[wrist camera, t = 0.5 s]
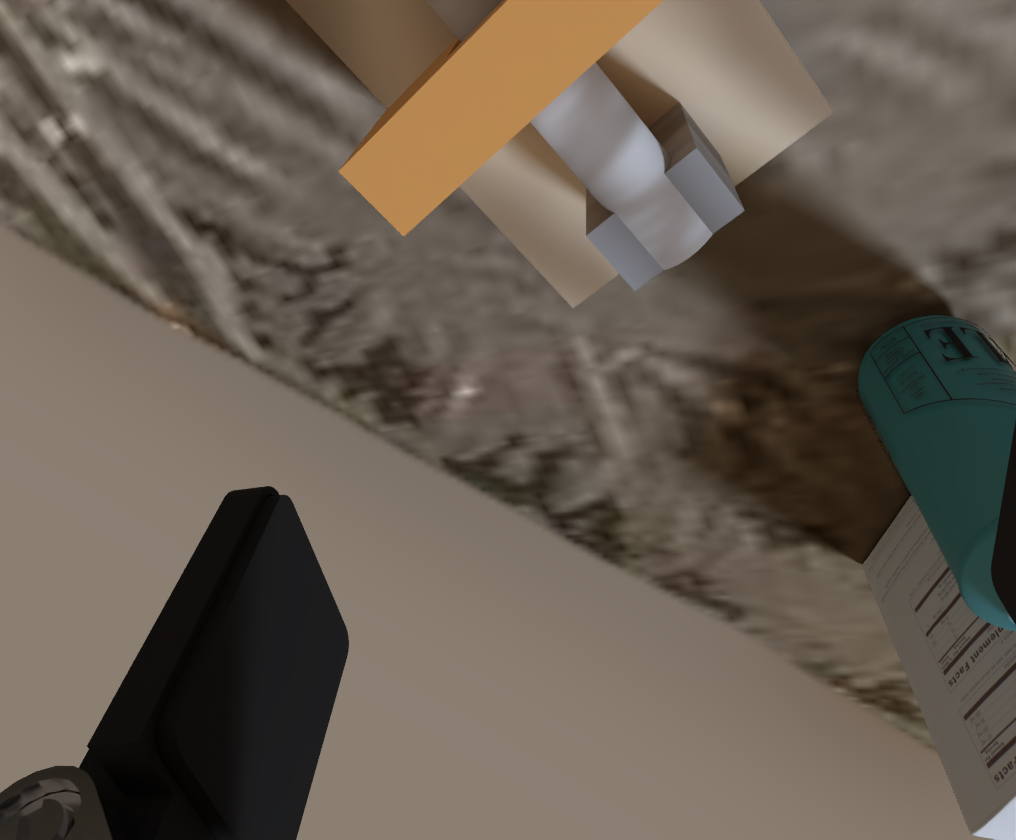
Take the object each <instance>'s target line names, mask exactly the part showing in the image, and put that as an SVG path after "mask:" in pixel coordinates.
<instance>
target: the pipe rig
mask: <svg viewBox="0 0 1016 840" xmlns="http://www.w3.org/2000/svg"><path fill="white" fill-rule="evenodd" d="M286 1H287V2H288V4H289V5H290V6H291V7H292V8H293V9H294V10H295V11H296V12H297V13H298V14H299V15H300V16H301V17H302V19H303V20H304V21H305V22H306V23H307V24H308V25H309V26H310V27H311V28H312V29H313V30H314V31H315V32H316V34H317V35H318V36H319V37H320V38H321V39H322V40H323V41H324V42H325V43H326V44H327V45H328V46H329V47H330V49H331V50H332V51H333V52H334V53H335V54H336V55H337V56H338V57H339V58H340V59H341V60H342V61H343V62H344V63H345V65H346V66H347V67H348V68H349V69H350V70H351V71H352V72H353V73H354V74H355V75H356V76H357V77H358V78H359V80H360V81H361V82H362V83H363V84H364V85H365V86H366V87H367V88H368V89H369V90H370V91H371V92H372V93H373V95H374V96H375V97H376V98H377V99H378V100H379V101H380V102H381V103H382V104H383V105H384V106H385V107H386V108H387V109H388V108H389V107H390V106H391V105H392V104H393V103H394V102H395V101H396V100H397V99H398V98H399V97H400V96H401V95H402V94H403V93H404V92H405V91H406V90H407V89H408V87H409V86H410V85H411V84H412V83H413V82H414V81H415V80H416V79H417V78H418V77H419V76H420V75H421V74H422V73H423V72H424V71H425V70H426V69H427V68H428V67H429V66H430V65H431V64H432V63H433V62H434V61H435V60H436V59H437V58H438V57H439V56H440V55H441V54H442V53H443V52H444V51H445V50H446V49H447V48H448V47H449V46H450V45H451V44H452V42H453V41H454V40H455V39H456V38H457V37H458V38H459V40H460V41H461V42H463V41H464V40H465V38H466V37H467V36H468V35H469V34H470V33H471V32H472V31H473V30H474V29H475V28H476V27H477V26H478V25H479V24H480V23H481V22H482V21H483V20H484V19H485V18H486V17H487V16H488V15H489V14H490V13H491V12H492V11H493V10H494V9H495V8H496V7H497V6H498V5H499V4H500V3H501V2H502V1H503V0H286ZM833 112H834V111H833V109H832V108H831V106H830V105H829V103H828V102H827V100H826V99H825V97H824V96H823V94H822V93H821V91H820V90H819V88H818V87H817V85H816V84H815V82H814V81H813V79H812V78H811V76H810V75H809V73H808V72H807V70H806V69H805V67H804V66H803V64H802V63H801V61H800V60H799V58H798V57H797V55H796V54H795V53H794V51H793V50H792V48H791V47H790V45H789V44H788V42H787V41H786V39H785V38H784V36H783V35H782V33H781V32H780V30H779V29H778V27H777V26H776V24H775V23H774V21H773V20H772V18H771V17H770V15H769V14H768V12H767V11H766V9H765V8H764V6H763V5H762V3H761V2H760V0H663V1H662V2H661V3H660V4H659V5H658V6H657V7H656V8H655V9H653V10H652V11H651V12H650V13H649V14H648V15H647V16H646V17H645V18H644V19H642V20H641V21H640V22H639V23H638V24H637V25H636V26H635V27H634V28H633V29H631V30H630V31H629V32H628V33H627V34H626V35H625V36H624V37H623V38H622V39H620V40H619V41H618V42H617V43H616V44H615V45H614V46H613V47H612V48H611V49H609V50H608V51H607V52H606V53H605V54H604V55H603V56H602V57H601V58H600V59H598V60H597V61H596V62H595V63H594V64H593V65H592V66H591V67H590V68H589V69H587V70H586V71H585V72H584V73H583V74H582V75H581V76H580V77H579V78H578V79H576V80H575V81H574V82H573V83H572V84H571V85H570V86H569V87H568V88H567V89H565V90H564V91H563V92H562V93H561V94H560V95H559V96H558V97H557V98H556V99H554V100H553V101H552V102H551V103H550V104H549V105H548V106H547V107H546V108H545V109H543V110H542V111H541V112H540V113H539V114H538V115H537V116H536V117H535V118H534V119H533V120H531V121H530V122H529V123H528V124H527V125H526V126H525V127H524V128H523V129H522V130H520V131H519V132H518V133H517V134H516V135H515V136H514V137H513V138H512V139H511V140H509V141H508V142H507V143H506V144H505V145H504V146H503V147H502V148H501V149H500V150H498V151H497V152H496V153H495V154H494V155H493V156H492V157H491V158H490V159H489V160H487V161H486V162H485V163H484V164H483V165H482V166H481V167H480V168H479V169H478V170H476V171H475V172H474V173H473V174H472V175H471V176H470V177H469V178H468V179H467V180H465V181H464V182H463V183H462V184H461V185H460V186H459V187H460V188H461V189H462V190H463V191H464V192H465V193H466V194H467V195H468V196H469V197H470V198H471V199H472V201H473V202H474V203H475V204H476V205H477V206H478V207H479V208H480V209H481V210H482V211H483V212H484V213H485V214H486V216H487V217H488V218H489V219H490V220H491V221H492V222H493V223H494V224H495V225H496V226H497V227H498V228H499V229H500V230H501V232H502V233H503V234H504V235H505V236H506V237H507V238H508V239H509V240H510V241H511V242H512V243H513V244H514V245H515V247H516V248H517V249H518V250H519V251H520V252H521V253H522V254H523V255H524V256H525V257H526V258H527V259H528V260H529V262H530V263H531V264H532V265H533V266H534V267H535V268H536V269H537V270H538V271H539V272H540V273H541V274H542V275H543V277H544V278H545V279H546V280H547V281H548V282H549V283H550V284H551V285H552V286H553V287H554V288H555V289H556V290H557V292H558V293H559V294H560V295H561V296H562V297H563V298H564V299H565V300H566V301H567V302H568V303H569V304H570V305H571V307H572V308H574V307H576V306H577V305H578V304H580V303H581V302H582V301H584V300H585V299H586V298H588V297H589V296H590V295H592V294H593V293H594V292H596V291H597V290H598V289H600V288H601V287H602V286H604V285H605V284H606V283H608V282H609V281H610V280H612V279H613V278H614V277H616V276H617V275H618V274H620V275H621V276H622V277H623V279H624V280H625V281H626V282H627V283H628V284H629V285H630V286H631V288H632V289H633V290H634V291H636V290H637V289H639V288H640V287H641V286H643V285H644V284H645V283H647V282H648V281H649V280H651V279H652V278H654V277H655V276H656V275H658V274H659V273H660V272H662V271H663V270H666V269H670V268H672V267H675V266H677V265H679V264H680V263H682V262H684V261H685V260H687V259H688V258H690V257H691V256H692V255H693V254H695V253H696V252H697V251H698V250H699V249H700V248H701V247H702V246H703V245H704V244H705V243H706V242H707V241H708V240H709V239H710V237H711V236H712V234H714V233H715V232H716V231H718V230H719V229H720V228H722V227H723V226H724V225H726V224H727V223H729V222H730V221H731V220H733V219H734V218H735V217H737V216H738V215H739V214H741V213H742V212H744V211H745V210H744V208H743V205H742V203H741V201H740V199H739V196H738V194H737V192H736V189H735V186H736V185H738V184H739V183H740V182H742V181H743V180H744V179H746V178H747V177H748V176H750V175H751V174H752V173H754V172H755V171H756V170H758V169H759V168H760V167H762V166H763V165H764V164H766V163H767V162H768V161H770V160H771V159H772V158H774V157H775V156H776V155H778V154H779V153H780V152H782V151H783V150H784V149H786V148H787V147H788V146H790V145H791V144H792V143H794V142H795V141H796V140H798V139H799V138H800V137H802V136H803V135H804V134H806V133H807V132H808V131H810V130H811V129H812V128H814V127H815V126H816V125H817V124H819V123H820V122H821V121H823V120H824V119H825V118H827V117H828V116H829V115H831V114H832V113H833Z"/></svg>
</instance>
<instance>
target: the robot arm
mask: <svg viewBox="0 0 1016 840" xmlns="http://www.w3.org/2000/svg"><path fill="white" fill-rule="evenodd" d="M991 577H992V582H993V586H994V588H995V591H996V593H997V595H998V597H999V599H1000V600H1001V602H1002V604H1003V605H1004V607H1005V609H1006V610H1007V612H1008V613H1009V615H1010V617H1011V618H1012V620H1013V622H1014V623H1015V625H1016V420H1015V426H1014V432H1013V438H1012V444H1011V450H1010V456H1009V462H1008V468H1007V474H1006V479H1005V485H1004V491H1003V497H1002V503H1001V509H1000V515H999V521H998V527H997V533H996V539H995V545H994V551H993V557H992V563H991ZM348 648H349V640H348V632H347V629H346V626H345V624H344V621H343V619H342V617H341V614H340V612H339V609H338V607H337V605H336V603H335V600H334V598H333V595H332V593H331V591H330V588H329V586H328V584H327V581H326V579H325V577H324V575H323V572H322V570H321V567H320V565H319V563H318V561H317V558H316V556H315V553H314V551H313V549H312V547H311V544H310V542H309V539H308V537H307V535H306V532H305V530H304V528H303V525H302V523H301V521H300V518H299V516H298V514H297V512H296V509H295V507H294V504H293V502H292V501H291V499H290V498H289V497H288V496H287V495H279V493H278V492H277V491H276V490H275V489H274V488H273V487H270V486H266V487H258V488H250V489H242V490H234V491H231V492H229V493H228V494H227V495H226V496H225V497H224V499H223V501H222V503H221V505H220V507H219V509H218V510H217V512H216V514H215V516H214V517H213V519H212V521H211V523H210V525H209V527H208V528H207V530H206V532H205V534H204V535H203V537H202V539H201V541H200V543H199V544H198V546H197V548H196V550H195V552H194V554H193V555H192V557H191V559H190V561H189V563H188V564H187V566H186V568H185V570H184V572H183V574H182V575H181V577H180V579H179V581H178V582H177V584H176V586H175V588H174V590H173V592H172V593H171V595H170V597H169V599H168V601H167V602H166V604H165V606H164V608H163V610H162V612H161V613H160V615H159V617H158V619H157V620H156V622H155V624H154V626H153V628H152V630H151V631H150V633H149V635H148V637H147V639H146V640H145V642H144V644H143V646H142V648H141V649H140V651H139V653H138V655H137V657H136V659H135V660H134V662H133V664H132V666H131V667H130V669H129V671H128V673H127V675H126V676H125V678H124V680H123V682H122V684H121V686H120V687H119V689H118V691H117V693H116V695H115V696H114V698H113V700H112V702H111V704H110V705H109V707H108V709H107V711H106V713H105V714H104V716H103V718H102V720H101V722H100V723H99V725H98V727H97V729H96V731H95V733H94V734H93V736H92V738H91V740H90V742H89V743H88V745H87V747H88V748H89V750H88V752H87V754H86V756H85V758H84V759H83V761H82V763H81V765H80V767H79V768H76V767H74V766H54V767H51V768H47V769H43V770H40V771H37V772H35V773H32V774H30V775H28V776H27V777H24V778H23V779H20V780H18V781H17V782H15V783H13V784H12V785H11V786H9V787H8V788H7V789H5V790H4V791H3V792H1V793H0V840H296V838H297V834H298V831H299V827H300V824H301V820H302V816H303V813H304V809H305V805H306V802H307V798H308V795H309V791H310V788H311V784H312V781H313V777H314V773H315V770H316V766H317V763H318V759H319V755H320V752H321V748H322V745H323V741H324V738H325V734H326V730H327V727H328V723H329V720H330V716H331V713H332V709H333V705H334V702H335V698H336V695H337V691H338V687H339V684H340V680H341V677H342V673H343V669H344V666H345V663H346V659H347V655H348Z"/></svg>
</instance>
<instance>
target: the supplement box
mask: <svg viewBox="0 0 1016 840" xmlns="http://www.w3.org/2000/svg"><path fill="white" fill-rule="evenodd" d="M910 497H911V498H912V499H911V498H910ZM910 497H909V499H908V500H907V502H906V503H905V505H904V506H903V508H902V509H901V510H900V512H899V513H898V515H897V516H896V518H895V519H894V521H893V522H892V524H891V525H890V526H889V528H888V529H887V531H886V532H885V534H884V535H883V536H882V538H881V539H880V541H879V542H878V544H877V545H876V546H875V548H874V549H873V551H872V552H871V554H870V555H869V556H868V558H867V559H866V561H865V562H864V563H863V569H864V571H865V574H866V576H867V579H868V581H869V584H870V586H871V589H872V591H873V594H874V596H875V599H876V601H877V603H878V606H879V608H880V611H881V613H882V616H883V618H884V621H885V623H886V626H887V628H888V630H889V633H890V635H891V638H892V640H893V643H894V645H895V648H896V650H897V653H898V655H899V658H900V660H901V663H902V665H903V668H904V670H905V673H906V675H907V678H908V680H909V682H910V685H911V687H912V690H913V692H914V695H915V697H916V700H917V702H918V704H919V707H920V709H921V712H922V714H923V717H924V719H925V722H926V724H927V727H928V729H929V732H930V734H931V737H932V739H933V742H934V744H935V747H936V749H937V752H938V754H939V757H940V759H941V761H942V764H943V766H944V769H945V771H946V774H947V776H948V779H949V781H950V783H951V786H952V789H953V791H954V794H955V796H956V799H957V801H958V804H959V806H960V809H961V811H962V814H963V816H964V819H965V822H966V824H967V826H968V829H969V831H970V833H971V834H972V835H975V836H980V837H986V838H991V839H996V840H1016V631H1011V630H1007V629H1004V628H1001V627H998V626H995V625H993V624H990V623H988V622H986V621H985V620H983V619H981V618H980V617H979V616H977V615H976V614H975V613H974V612H972V611H971V609H970V608H969V607H968V606H967V605H966V603H965V602H964V600H963V598H962V596H961V594H960V591H959V589H958V583H957V581H956V580H955V578H954V576H953V574H952V572H951V570H950V568H949V566H948V564H947V562H946V560H945V558H944V556H943V554H942V552H941V550H940V548H939V546H938V544H937V542H936V541H935V539H934V537H933V535H932V533H931V531H930V529H929V527H928V525H927V523H926V521H925V519H924V517H923V515H922V513H921V511H920V509H919V507H918V506H917V505H916V504H917V503H916V501H915V500H914V498H913V496H912V495H911V496H910Z"/></svg>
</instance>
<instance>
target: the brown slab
mask: <svg viewBox="0 0 1016 840" xmlns="http://www.w3.org/2000/svg"><path fill="white" fill-rule="evenodd" d="M662 1H663V0H503V1H502V2H501V3H500V4H499V5H498V6H497V7H496V8H495V9H494V10H493V11H492V12H491V13H490V14H489V15H488V16H487V17H486V18H485V19H484V20H483V21H482V22H481V23H480V24H479V25H478V26H477V27H476V28H475V29H474V30H473V31H472V32H471V33H470V34H469V35H468V36H467V37H466V38H465V40H464V41H463V42H461V41H460V40H459V38H458V37H457V38H456V39H455V40H454V41H453V42H452V44H451V45H450V46H449V47H448V48H447V49H446V50H445V51H444V52H443V53H442V54H441V55H440V56H439V57H438V58H437V59H436V60H435V61H434V62H433V63H432V64H431V65H430V66H429V67H428V68H427V69H426V70H425V71H424V72H423V73H422V74H421V75H420V76H419V77H418V78H417V79H416V80H415V81H414V82H413V83H412V84H411V85H410V86H409V87H408V89H407V90H406V91H405V92H404V93H403V94H402V95H401V96H400V97H399V98H398V99H397V100H396V101H395V102H394V103H393V104H392V105H391V106H390V107H389V108H388V109H387V110H386V111H385V113H384V114H383V115H382V117H381V118H380V119H379V120H378V122H377V123H376V124H375V125H374V127H373V128H372V129H371V131H370V132H369V133H368V134H367V136H366V137H365V138H364V139H363V141H362V142H361V143H360V145H359V146H358V147H357V148H356V150H355V151H354V152H353V154H352V155H351V156H350V157H349V159H348V160H347V161H346V162H345V164H344V165H343V166H342V168H341V169H340V170H339V172H340V173H341V174H342V175H343V176H344V177H345V178H346V179H347V180H348V181H349V182H350V183H351V184H352V185H353V186H354V187H355V188H356V189H357V190H358V191H359V192H360V193H361V194H362V195H363V196H364V197H365V198H366V199H367V200H368V201H369V202H370V203H371V204H372V205H373V206H374V207H375V208H376V209H377V210H378V211H379V212H380V213H381V214H382V215H383V216H384V217H385V218H386V219H387V220H388V221H389V222H390V223H391V224H392V225H393V226H394V227H395V228H396V229H397V230H398V231H399V232H400V233H401V234H402V235H403V236H405V235H406V234H407V233H408V232H409V231H410V230H412V229H413V228H414V227H415V226H416V225H417V224H418V223H419V222H420V221H421V220H423V219H424V218H425V217H426V216H427V215H428V214H429V213H430V212H431V211H432V210H434V209H435V208H436V207H437V206H438V205H439V204H440V203H441V202H442V201H443V200H445V199H446V198H447V197H448V196H449V195H450V194H451V193H452V192H453V191H454V190H456V189H457V188H458V187H459V186H460V185H461V184H462V183H463V182H464V181H465V180H467V179H468V178H469V177H470V176H471V175H472V174H473V173H474V172H475V171H476V170H478V169H479V168H480V167H481V166H482V165H483V164H484V163H485V162H486V161H487V160H489V159H490V158H491V157H492V156H493V155H494V154H495V153H496V152H497V151H498V150H500V149H501V148H502V147H503V146H504V145H505V144H506V143H507V142H508V141H509V140H511V139H512V138H513V137H514V136H515V135H516V134H517V133H518V132H519V131H520V130H522V129H523V128H524V127H525V126H526V125H527V124H528V123H529V122H530V121H531V120H533V119H534V118H535V117H536V116H537V115H538V114H539V113H540V112H541V111H542V110H543V109H545V108H546V107H547V106H548V105H549V104H550V103H551V102H552V101H553V100H554V99H556V98H557V97H558V96H559V95H560V94H561V93H562V92H563V91H564V90H565V89H567V88H568V87H569V86H570V85H571V84H572V83H573V82H574V81H575V80H576V79H578V78H579V77H580V76H581V75H582V74H583V73H584V72H585V71H586V70H587V69H589V68H590V67H591V66H592V65H593V64H594V63H595V62H596V61H597V60H598V59H600V58H601V57H602V56H603V55H604V54H605V53H606V52H607V51H608V50H609V49H611V48H612V47H613V46H614V45H615V44H616V43H617V42H618V41H619V40H620V39H622V38H623V37H624V36H625V35H626V34H627V33H628V32H629V31H630V30H631V29H633V28H634V27H635V26H636V25H637V24H638V23H639V22H640V21H641V20H642V19H644V18H645V17H646V16H647V15H648V14H649V13H650V12H651V11H652V10H653V9H655V8H656V7H657V6H658V5H659V4H660V3H661V2H662Z"/></svg>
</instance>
